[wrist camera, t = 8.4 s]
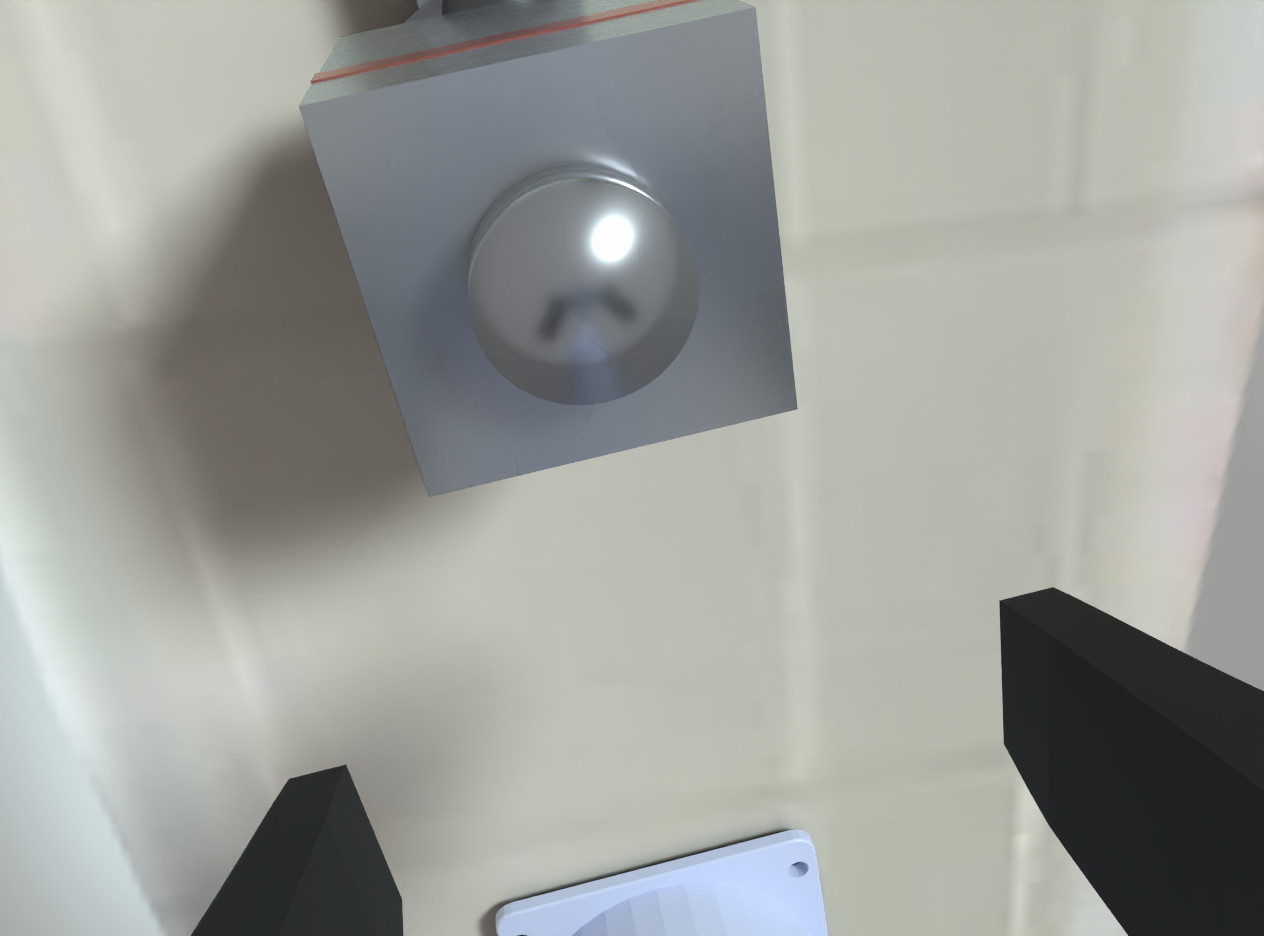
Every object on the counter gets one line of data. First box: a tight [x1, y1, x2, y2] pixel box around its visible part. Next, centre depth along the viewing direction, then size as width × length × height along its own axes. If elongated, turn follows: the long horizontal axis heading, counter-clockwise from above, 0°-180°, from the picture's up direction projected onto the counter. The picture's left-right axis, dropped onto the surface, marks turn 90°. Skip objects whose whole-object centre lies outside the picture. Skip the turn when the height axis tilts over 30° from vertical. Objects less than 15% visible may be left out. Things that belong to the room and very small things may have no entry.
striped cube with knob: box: [299, 0, 797, 497], centre depth 13 cm, size 5×5×6 cm
